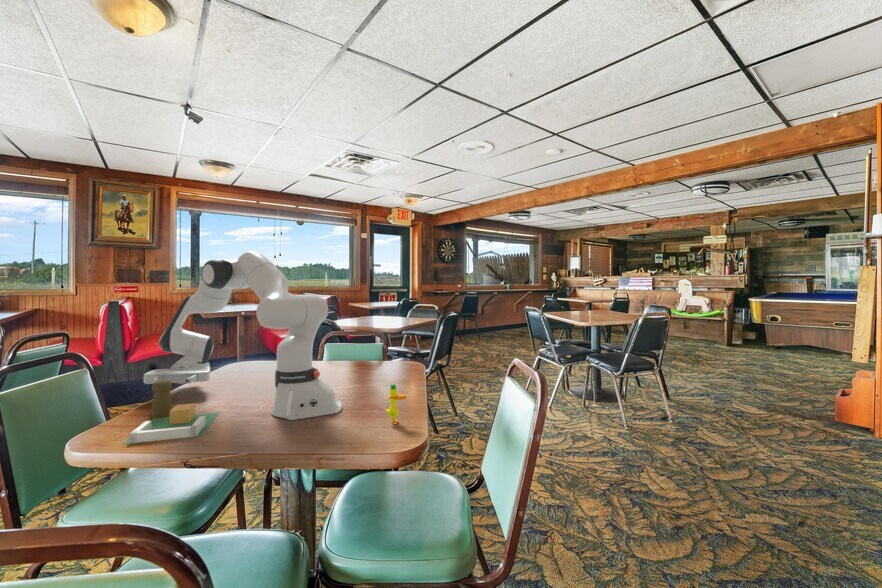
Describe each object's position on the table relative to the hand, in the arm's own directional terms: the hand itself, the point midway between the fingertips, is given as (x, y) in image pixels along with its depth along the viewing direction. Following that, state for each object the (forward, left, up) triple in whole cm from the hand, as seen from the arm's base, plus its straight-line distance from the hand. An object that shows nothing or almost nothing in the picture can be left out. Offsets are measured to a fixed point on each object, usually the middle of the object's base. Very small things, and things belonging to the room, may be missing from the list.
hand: (172, 381), depth 130 cm
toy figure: (-71, +41, -8) cm, 82 cm away
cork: (-1, +12, -8) cm, 14 cm away
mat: (-9, +26, -8) cm, 28 cm away
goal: (-9, +30, -8) cm, 32 cm away
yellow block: (-9, +20, -8) cm, 23 cm away
